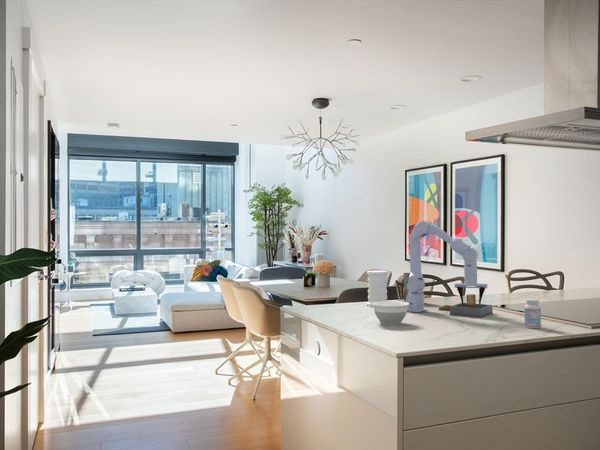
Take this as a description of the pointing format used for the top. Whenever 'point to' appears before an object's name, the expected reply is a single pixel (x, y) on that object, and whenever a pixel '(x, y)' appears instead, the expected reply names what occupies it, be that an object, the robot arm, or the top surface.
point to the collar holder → (445, 307)
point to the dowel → (471, 300)
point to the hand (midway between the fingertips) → (471, 303)
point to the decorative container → (377, 286)
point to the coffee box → (406, 279)
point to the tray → (471, 310)
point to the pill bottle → (532, 314)
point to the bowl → (390, 311)
